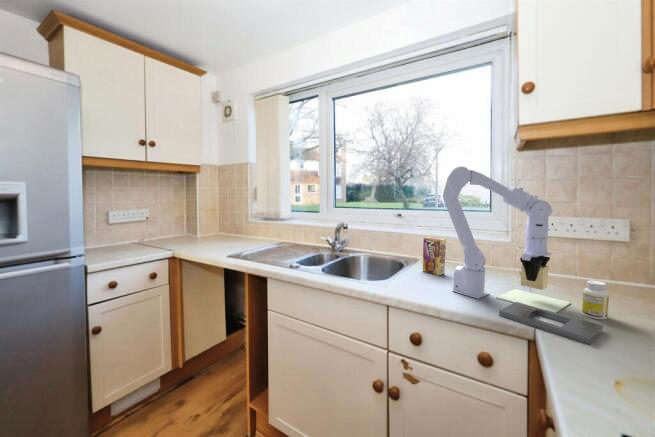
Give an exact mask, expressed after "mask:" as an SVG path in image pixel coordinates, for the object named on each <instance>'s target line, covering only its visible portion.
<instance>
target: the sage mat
mask: <svg viewBox="0 0 655 437" xmlns="http://www.w3.org/2000/svg"><path fill="white" fill-rule="evenodd" d="M496 299H498V300H502V301H505V302H509V303H511V304H513V303H515V302H519V303H522V304H526V305H530V306H533V307H537V308H541V309H544V310H548V311H551V312H555V313H559V312H560V311H561V310H563V309H564V308H567V307H568V306H570V305H571V304H572V303H571V302H570V301H567V300H561V299H558V298H554V297H551V296H546V295H541V294H537V293H533V292H530V291H525V290H521V289H518V288H517V289H516V288H514V289H512V290H511V289H510V291H509V290H508V291H507V292H504V293H502V294H501V295H498V296H496Z"/></svg>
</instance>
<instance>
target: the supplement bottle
mask: <svg viewBox="0 0 655 437" xmlns="http://www.w3.org/2000/svg"><path fill="white" fill-rule="evenodd" d="M606 289H607V283H606V282H602V281H598V280H587V282H586V287H585V288H584V289H583V290H582V292H583V293H582V304H581V306H582V308H581V313H582V315H583V316H585V317H587V318H590V319H595V320H607V318H608V313H609V301H610V300H609V299H610V293H609V292H608V291H607V290H606Z"/></svg>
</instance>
